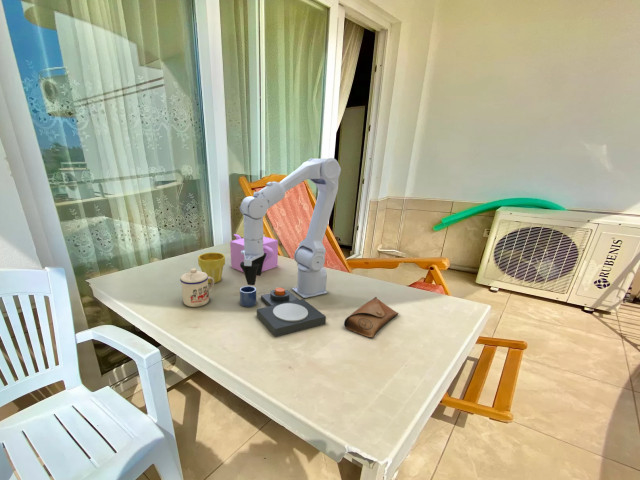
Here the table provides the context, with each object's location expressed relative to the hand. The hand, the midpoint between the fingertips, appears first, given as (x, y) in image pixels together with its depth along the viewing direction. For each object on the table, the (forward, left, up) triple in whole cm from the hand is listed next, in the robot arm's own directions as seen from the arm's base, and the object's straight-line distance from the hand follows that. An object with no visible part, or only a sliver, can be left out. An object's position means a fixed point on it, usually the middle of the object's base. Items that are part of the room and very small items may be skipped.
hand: (254, 279), depth 95 cm
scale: (-5, +13, -9) cm, 17 cm away
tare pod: (-8, +1, -9) cm, 12 cm away
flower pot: (+7, -26, -9) cm, 28 cm away
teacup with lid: (+16, -11, -9) cm, 21 cm away
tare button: (-8, +1, -6) cm, 11 cm away
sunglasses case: (-26, +23, -9) cm, 36 cm away
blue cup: (+2, -2, -9) cm, 9 cm away
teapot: (-13, -33, -9) cm, 37 cm away
